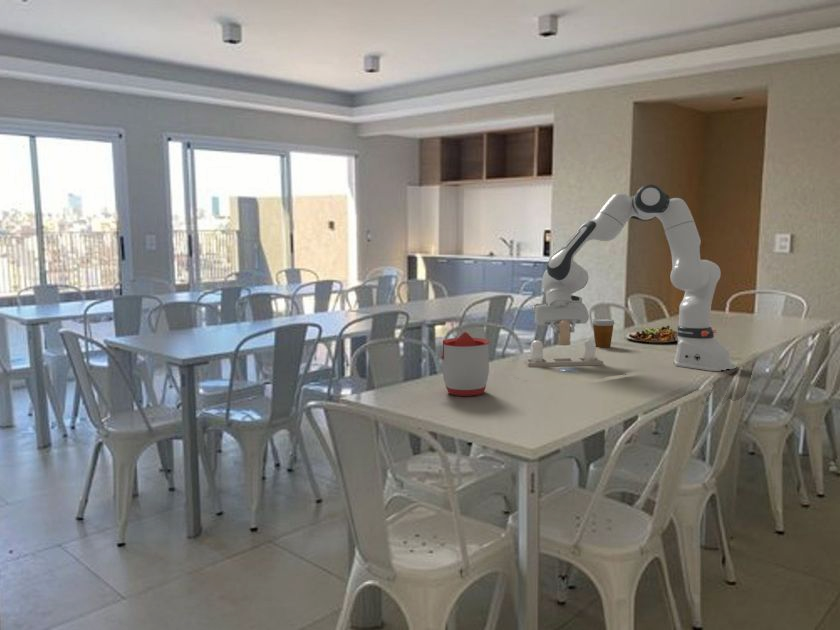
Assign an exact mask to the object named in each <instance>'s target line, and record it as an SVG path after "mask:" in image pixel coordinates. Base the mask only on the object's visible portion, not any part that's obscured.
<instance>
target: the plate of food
mask: <svg viewBox="0 0 840 630" xmlns="http://www.w3.org/2000/svg"><path fill="white" fill-rule="evenodd" d="M643 329H644V330H641V331H633V332H628V333H626V334H624V337H625V338H627V339H629V340H633V341H639V342H644V343H647V342H649V344H667V343H672V342H678V340H677V339H678V335H677V331H675V330H673V328H670V325H665V326H661V327H660V328H659V327H656V328H647V327H643Z"/></svg>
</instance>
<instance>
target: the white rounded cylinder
mask: <svg viewBox="0 0 840 630" xmlns="http://www.w3.org/2000/svg"><path fill="white" fill-rule="evenodd" d="M596 348H597V347H596V344H595V339H593V338H587V339H585V340H584V342H583V354H582V355H583V357H582V358H583V361H595V357H596Z"/></svg>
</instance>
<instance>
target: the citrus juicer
mask: <svg viewBox="0 0 840 630" xmlns="http://www.w3.org/2000/svg"><path fill="white" fill-rule="evenodd" d="M489 345H490V340H489V339H486V338H481V337H472V336H471V334H469V333H468V332H466V331H464V332H463V333H462V334H460V335H459V337H455V338H454V337H453V338H452V337H451V338H446V339H443V340H442V350H440V351H438V352H437V354H436V356H435V359H440V358H441V360H442V361H441V362H442V363H441V367H442V369H441V370H442V375H443V376H442V377H443V381H444V384H445V389H446V391H447V392H448V394H450V395H453V396H454V395H459V396H458V397H460V396H461V397H467V396H470V397H471V396H473V395H478V396H480V395H481V394H483V393H484V392H485V391H486V390H485V389H486V387H487V383H488V378H489V374H490V373H489V371H490V370H489V369H490V368H489V367H490V351H489V349H490V347H489Z"/></svg>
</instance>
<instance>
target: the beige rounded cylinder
mask: <svg viewBox="0 0 840 630" xmlns="http://www.w3.org/2000/svg"><path fill="white" fill-rule="evenodd" d="M570 326H571V324H570V323H569V322H568V321H566V320H563V321H561V322H560V323H559V325H557V327H559V333H557V334H558V335H557V336H558V345H559V346H571V333H570Z"/></svg>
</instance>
